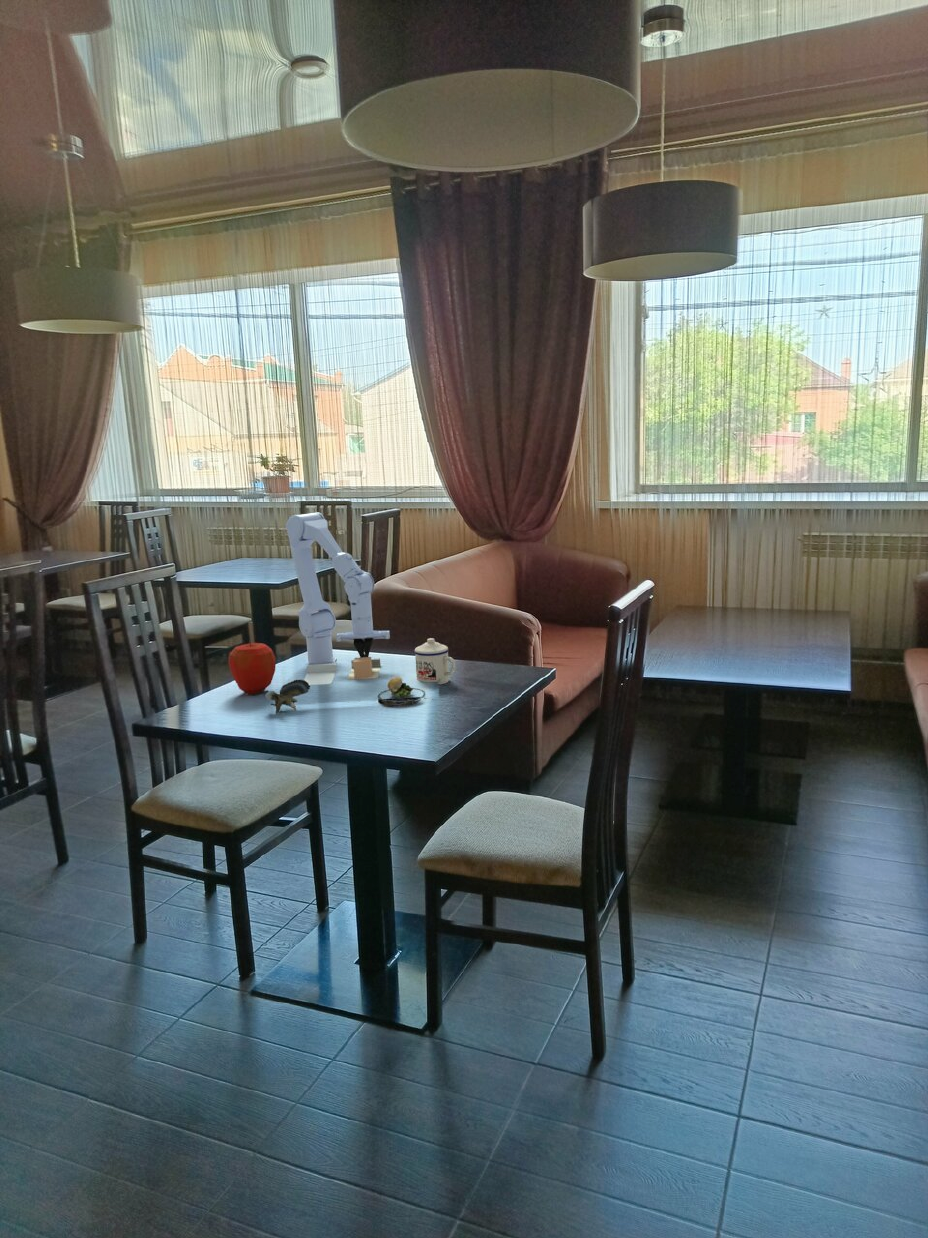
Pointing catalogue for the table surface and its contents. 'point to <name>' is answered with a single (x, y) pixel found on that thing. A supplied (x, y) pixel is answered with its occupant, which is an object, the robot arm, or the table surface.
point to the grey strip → (320, 673)
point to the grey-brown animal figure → (288, 694)
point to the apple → (252, 667)
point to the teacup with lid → (433, 662)
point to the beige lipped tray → (374, 670)
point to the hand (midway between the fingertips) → (365, 664)
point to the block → (362, 667)
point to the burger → (398, 694)
